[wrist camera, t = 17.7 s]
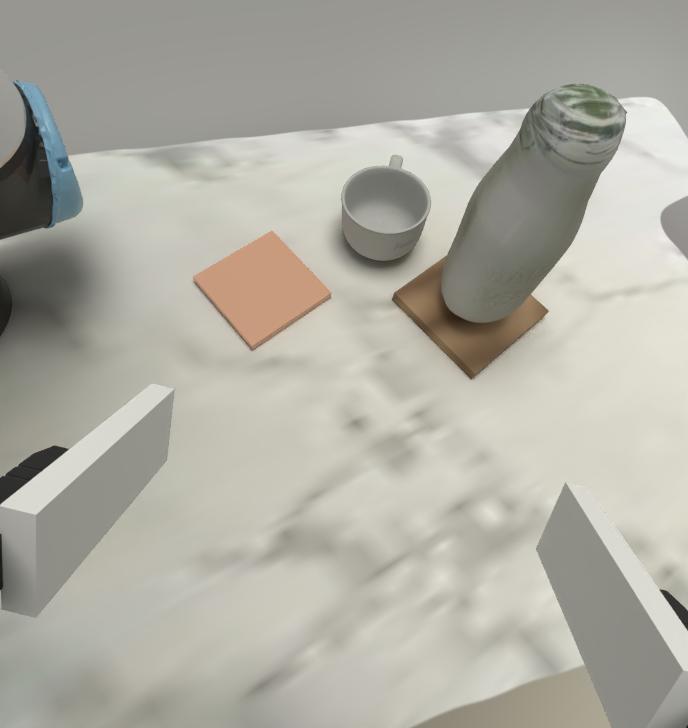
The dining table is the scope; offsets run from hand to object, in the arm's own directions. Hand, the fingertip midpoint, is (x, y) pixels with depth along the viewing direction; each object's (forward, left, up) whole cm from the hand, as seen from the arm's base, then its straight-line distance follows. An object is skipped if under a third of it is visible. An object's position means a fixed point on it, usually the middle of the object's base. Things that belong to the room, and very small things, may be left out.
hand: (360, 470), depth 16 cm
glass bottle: (-10, +33, -34) cm, 49 cm away
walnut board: (-10, +33, -36) cm, 50 cm away
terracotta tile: (-28, +14, -36) cm, 47 cm away
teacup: (-26, +32, -36) cm, 55 cm away
